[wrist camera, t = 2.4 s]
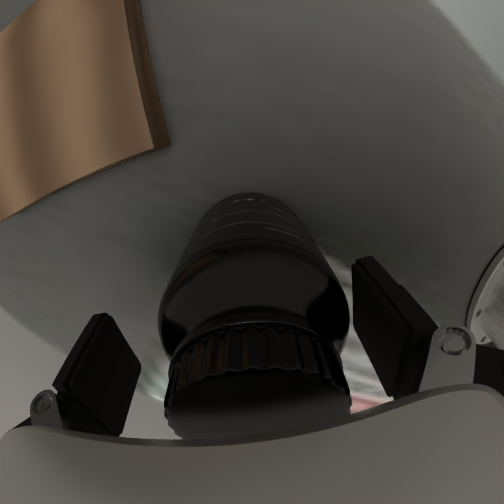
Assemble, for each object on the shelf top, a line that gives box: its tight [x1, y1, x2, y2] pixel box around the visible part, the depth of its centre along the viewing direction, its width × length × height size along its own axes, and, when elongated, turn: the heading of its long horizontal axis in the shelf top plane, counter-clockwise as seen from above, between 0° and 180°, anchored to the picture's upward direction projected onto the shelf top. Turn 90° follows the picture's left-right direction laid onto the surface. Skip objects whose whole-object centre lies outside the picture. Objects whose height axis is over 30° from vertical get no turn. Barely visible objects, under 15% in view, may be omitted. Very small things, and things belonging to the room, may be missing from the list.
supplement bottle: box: [158, 193, 352, 439], centre depth 11 cm, size 7×7×12 cm
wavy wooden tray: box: [0, 0, 171, 223], centre depth 11 cm, size 14×14×3 cm
